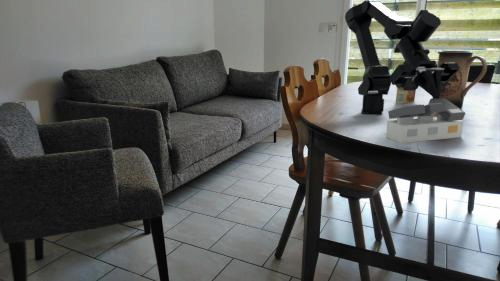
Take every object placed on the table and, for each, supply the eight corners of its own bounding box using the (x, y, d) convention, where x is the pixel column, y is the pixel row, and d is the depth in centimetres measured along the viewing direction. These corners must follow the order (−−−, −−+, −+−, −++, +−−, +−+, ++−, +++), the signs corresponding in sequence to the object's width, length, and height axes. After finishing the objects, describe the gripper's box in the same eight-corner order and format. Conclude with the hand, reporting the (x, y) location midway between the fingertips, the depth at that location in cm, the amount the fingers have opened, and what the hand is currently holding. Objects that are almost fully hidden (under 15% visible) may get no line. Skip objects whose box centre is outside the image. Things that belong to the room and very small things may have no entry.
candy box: (405, 104, 141) (410, 64, 137) (395, 103, 144) (398, 63, 140) (415, 101, 147) (419, 62, 143) (404, 100, 150) (408, 62, 146)
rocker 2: (409, 117, 96) (408, 109, 96) (423, 116, 97) (422, 108, 97) (430, 112, 88) (429, 103, 89) (446, 111, 89) (444, 102, 90)
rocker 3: (427, 105, 98) (430, 98, 96) (441, 104, 99) (444, 97, 97) (447, 121, 91) (451, 113, 90) (462, 119, 92) (465, 112, 91)
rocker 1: (389, 118, 95) (388, 110, 95) (403, 117, 96) (402, 109, 96) (409, 113, 87) (408, 105, 87) (425, 112, 88) (424, 104, 88)
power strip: (385, 137, 95) (387, 115, 94) (443, 131, 100) (446, 111, 98) (400, 143, 90) (403, 120, 88) (461, 137, 94) (464, 115, 93)
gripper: (425, 71, 113) (447, 113, 106) (372, 73, 109) (391, 117, 101) (448, 45, 104) (474, 89, 96) (390, 46, 99) (414, 92, 92)
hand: (437, 98), depth 97 cm, fingers closed, pressing on rocker 3
